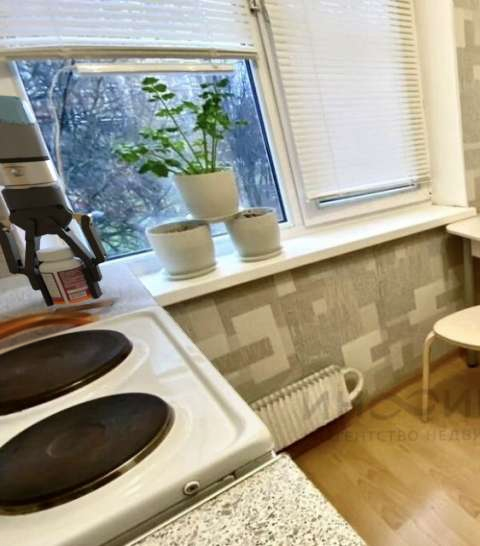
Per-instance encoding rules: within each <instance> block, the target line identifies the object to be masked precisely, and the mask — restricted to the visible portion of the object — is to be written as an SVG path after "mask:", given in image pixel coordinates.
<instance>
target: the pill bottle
mask: <svg viewBox="0 0 480 546" xmlns="http://www.w3.org/2000/svg"><path fill="white" fill-rule="evenodd" d="M36 254H37V257H38V260H39V261H44V263H42V264H41V265H40V266H39V270H40V272H41V275H42V277H43V279H44V282H45V284H46V286H47V289H48V291H49V293H50V296H51V298H52V300H53V303H54V306H55V307H58V308H65V307H71V306H78V305H84V304H87V303H89V302H91V301H93V300H95V299H94V298H93V296H92V293H91V290H90V288H89V285H88V283H87V280H86V277H85V275H84V272H83V270H82V269H83V268H84V267H85V265H84V263H83V261H82V260H81V259H80V258H77V257H74V256H75V255H76V254H75V253H74V251H73V250H72V249H71V248H70V247H69V246H68V245H67V244H66V245H55V246H50V247H49V246H48V247H45V248H40V250H38V251H36Z"/></svg>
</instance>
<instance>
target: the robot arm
mask: <svg viewBox="0 0 480 546" xmlns="http://www.w3.org/2000/svg"><path fill="white" fill-rule="evenodd" d="M39 129H40V128H39V126H38V121H37V120H36V119H35V116H34V115H33V112H32V109H31V107H30V106H29V103H28V102H27V101H26V100H25V99H24V98H22V97H20V96H16V95H6V94H5V95H4V94H3V95H1V94H0V187H4V188H2V189H1V190H0V193H1V196H2V198H3V200H4V203H5V205H6V207H7V210H8V212H9V215H8V218H6V219H3V220H0V247H1V251H2V254H3V257H4V259H5V262H6V266H7V269H8V272H9V274H12V275H17V274H18V275H24V276H26V277H27V279H28V282H29V284H30V286H31V288H32V290H33V291H35V292H36V291H40V293H41V295H42V298H43V300H44V302H45V305H46V307H52V306H55V304H54V303H53V300H52V298H51V296H50V293H49V291H48V289H47V286H46V284H45V282H44V279H43V277H42V275H41V272H38V271H39V260H38V257H37V254H36V251H38V250H41V238H42V237H43V236H46V235H47V236H48V235H49V236H54V235H55V236H56V235H57V237H58V238H59V239H61V240H63V241H64V243H65V244H66V245H68V246H69V247H70V248H71V249H72V250H73V251H74V253H75V254H76V255H77V256H78V257H79V258H80V259H81V260H82V261H83V263H84V264H85V265H86V267H84V268H83V269H82V270H83V272H84V275H85V277H86V280H87V283H88V285H89V288H90V290H91V293H92V296H93V298H94V299H93V300H97V299H100V298H101V297H102V295H103V291H102V288H101V286H100V284H99V282H102V280H103V274H102V272H101V269H100V266H99V265H101V264H104V263H105V262H106V261H107V260H108V259H109V255H108V253H107V251H106V249H105V247H104V245H103V243H102V240H101V238H100V237H99V234H98V232H97V230H96V227H95V225H94V214H93V213H91V212H87V213H80V212H74V211H73V210H72V209H71V208H69V206H68V204H67V202H66V199H65V195H64V192H63V191H62V188H61V186H60V185H59V184H56V183H57V182H58V181H59V180H58V177H57V174H56V172H55V169H54V166H53V164H52V162H51V160H50V157H49V156H48V153H47V150H46V148H45V144H44V141H43V138H42V136H41V132H40V130H39ZM72 220H75V221H76V223H77V224H78V225H79V226H80V228H81V230H82V233H83V235H84V236H85V239H86V241H87V243H88V245H89V248H90V249H91V251H92V253H93V254H92V253H91V251H90V250H89V248H87V247H86V246H85V244H84V243H83V242H82V241H81V240H80V239H79V237H78V236H77V235H76V234H75V232H74V230H73V229H72V228H71V227H70V224H71V223H72ZM14 226H16V227H17V228H18V229H21V230H23V231H24V241H25V250H24V262H23V259H22V256H21V253H20V249H19V247H18V244H17V243H18V242H17V239H16V237H15V234H14V232H13V231H14Z"/></svg>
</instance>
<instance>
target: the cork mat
mask: <svg viewBox="0 0 480 546" xmlns="http://www.w3.org/2000/svg"><path fill="white" fill-rule="evenodd" d="M114 303H115V300H114V299H110V300H109V299H108V300H102V301H97V302H91V303H83V304H80V305H76V306H70V307H58V308H56V309H55V310H54V311H53V312H52V313H51V314H49V317H52V316H57V315H64V314H69V313H75V312H76V313H77V312H82V311H88V310H93V309H100V308H106V307H112V306H113V305H114Z"/></svg>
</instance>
